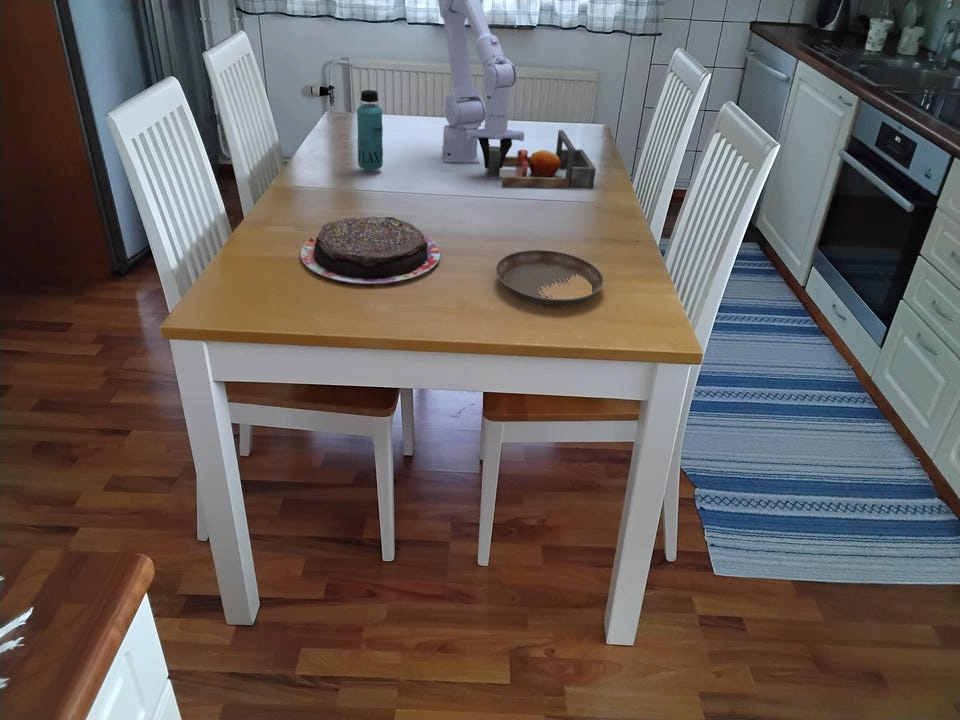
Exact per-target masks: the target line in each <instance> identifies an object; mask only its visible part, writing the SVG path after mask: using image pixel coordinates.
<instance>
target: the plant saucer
mask: <svg viewBox="0 0 960 720" xmlns="http://www.w3.org/2000/svg"><path fill="white" fill-rule="evenodd" d="M495 274H496V275H497V278H498V280H499V281H500V283H501V284H502V285H503V287H504V288H505V289H506V291H508V292H509V293H510V294H511V295H513V296H514V297H516V298H517V299H519V300H522V301H523V302H525V301H526V302H525V303H528V302H529V303H528V304H531V303H532V304H531V305H534V304H536V305H535V306H539V305H541V306H540V307H544V306H550V307H549V308H565V307H564V306H568V307H572V305H573V306H577V305H580V304H582V303H584V302H587V301H588V300H590V299H591V298H593V297H594V296H596V294H597V293H598V292H599V291H600V290H601V289H602V287H603V285H604V280H605V279H604V276H603V274H602V272H601V271H600V270H599V269H598V268H597V267H596V266H595V265H593V264H592V263H591V262H589V261H587V260H585V259H583V258H581V257H578V256H575V255H571V254H569V253H566V252H559V251H553V250H547V249H546V250H540V249H533V250H531V249H530V250H523V251H517V252H514V253H510V254H508V255H506V256H504V257H503V258H501V259H500V260H499V261H498V262H497V264H496V265H495ZM576 274H577V275H579V276H582V277H583V278H585V279H586V280H587V281H588V282H589V283H590V284H591V285H592V294H590V295H587V296H584V297H580V298H574V299H552V298H553V297H552V296H551V295H550V297H552V298H551V299H550V298H549V297H548V296H546V295H545V294H544V293H543V291H542V289H543V288H542V289H541V287H542V286H543V287H544V286H545V287H544V288H546V286H547V285H548V286H549V287H551V285H552V283H553V285H554V284H555V282H557V283H558V284H559V283H560V281H561V283H564V281H566V282H567V283H568V280H570V278H571V277H572V275H573V276H574V275H575V277H576ZM567 278H568V280H567ZM559 279H560V280H559ZM563 279H564V280H563ZM554 280H555V281H554ZM566 282H565V283H566ZM571 282H572V281H571ZM561 283H560V284H561ZM565 283H564V285H565ZM545 284H546V285H545ZM568 285H569V283H568ZM559 286H560V285H559ZM538 289H539V290H538ZM546 290H547V289H546ZM539 291H542V292H540V293H543V294H544V295H545V296H546V297H545V296H544V295H543V296H544V297H545V298H544V297H543V296H542V295H541V294H540V293H538V292H539ZM541 296H542V297H543V298H542V297H541ZM548 298H549V299H548ZM576 304H577V305H576Z"/></svg>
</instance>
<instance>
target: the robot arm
mask: <svg viewBox="0 0 960 720" xmlns="http://www.w3.org/2000/svg"><path fill="white" fill-rule="evenodd" d="M437 2H438V8H439V14H440V17H441V18H442V19H443V24H444V30H445V37H446V44H447V45H446V46H447V52H448V59H449V66H450V71H451V72H450V73H451V80H452V81H451V82H452V87H453V88H452V90H451V91H450V92H449V93H448V94H447V95H446V96H445V109H444V112H445V113H444V114H445V115H444V116H445V119H446V121H447V123H448V124H446V125H444V126H443V136H442V137H443V140H442V141H443V142H442V144H443V145H442V147H441V148H442V151H441V153H442V156H443V161H444V162H445V163H466V164H470V163H471V164H479V163H480V158H479V156H478V143H479V146H480V148H481V151H482V156H483V162H484V163H483V165H484V168H485V169H486V168H488V154H489V146H490V140H497V141H498V140H499V147H500V150H501V161H500V169H502V170H503V166H502V165H503V162H504V159H505V157H506V156H508V155H507V154H508V152H509V151H510V149H511V148H512V145H513V141H519V142H524V141H525V132H524V131H521V130H513V129H508V122H509V113H510V112H509V109H510V97H511V96H510V95H511V88H513V87H514V86H515V84H516V81H517V71H516V66H515V65H514V63H513V62H511V61H510V60H509V59H508V58H506V56H505V54H504V52H503V49H502V47H501V44H500V42H499V39H498V37H497V36H496V35H495V34H493V33H491V30H490V27H489V23H488V21H487V17H486V15H485V11H484V7H483V5H482V4H483V0H437ZM466 20H467V21H468V24H469V25H470V28H471V29H472V32H473V34H474V36H475V37H476V43H475V50H476V53H477V55H478V57H479V61H480V62H481V64H482V68H483V70H484V71H483V73H482V80H483V84H484V95H486V100H485V101H486V104H485V102H484V99H483V94H482V92H481V91H480V90H478V88H476V87H475V86H474V84H473V77H472V70H471V69H472V67H471V63H470V62H471V61H470V55H469V54H470V53H469V47H468V39H467V31H466V24H465V22H466ZM482 123H484V128H479V127H481V126H482Z"/></svg>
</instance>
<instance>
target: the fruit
mask: <svg viewBox="0 0 960 720" xmlns="http://www.w3.org/2000/svg"><path fill="white" fill-rule="evenodd" d="M530 157H531V158H530V167H529V170H530V175H532V177H545V178H554V176H555V175H556V174H557V172H558V170H559V167H560V165H561V161H560V159H559V157H558V156H557V155H556V153H553V152H551V151H548V150H545V149H544V150H543V149H542V150H541V149H540V150H538V151H536V152H535V151H534V152H533V153H531V155H530Z"/></svg>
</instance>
